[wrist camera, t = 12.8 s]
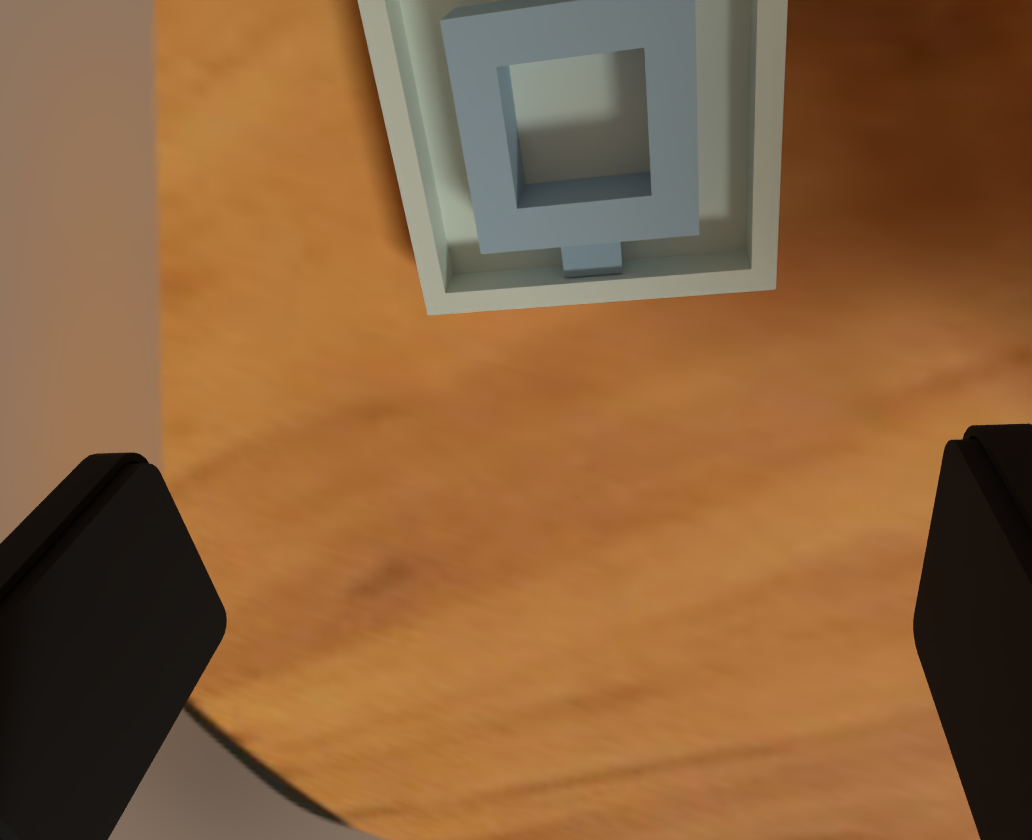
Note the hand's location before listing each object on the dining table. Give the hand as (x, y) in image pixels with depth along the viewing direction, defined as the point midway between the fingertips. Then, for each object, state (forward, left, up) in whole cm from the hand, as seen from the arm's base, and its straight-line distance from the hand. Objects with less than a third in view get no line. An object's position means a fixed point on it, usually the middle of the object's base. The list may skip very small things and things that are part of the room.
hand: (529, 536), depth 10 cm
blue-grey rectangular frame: (0, 0, -20) cm, 20 cm away
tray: (0, 0, -21) cm, 21 cm away
